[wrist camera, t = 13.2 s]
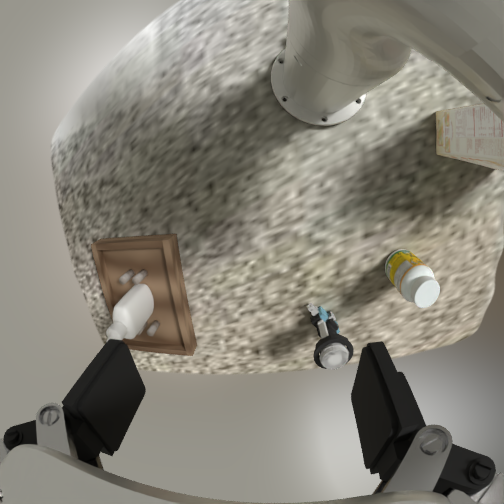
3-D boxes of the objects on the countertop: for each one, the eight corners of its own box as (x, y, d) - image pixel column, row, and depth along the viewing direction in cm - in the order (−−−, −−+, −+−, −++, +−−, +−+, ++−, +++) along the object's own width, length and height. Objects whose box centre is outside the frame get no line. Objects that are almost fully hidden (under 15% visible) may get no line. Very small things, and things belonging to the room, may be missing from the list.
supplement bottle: (377, 267, 37) (402, 298, 28) (400, 240, 36) (431, 266, 27) (397, 286, 38) (422, 319, 29) (419, 262, 36) (450, 290, 27)
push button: (295, 312, 41) (299, 354, 31) (322, 291, 39) (334, 330, 30) (321, 336, 42) (329, 379, 33) (347, 317, 40) (362, 358, 31)
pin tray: (100, 238, 39) (85, 247, 35) (176, 233, 38) (164, 243, 34) (129, 338, 46) (119, 353, 42) (197, 344, 45) (190, 361, 41)
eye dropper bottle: (129, 303, 41) (92, 346, 30) (138, 278, 39) (97, 319, 28) (151, 316, 42) (119, 363, 31) (161, 292, 40) (127, 338, 29)
